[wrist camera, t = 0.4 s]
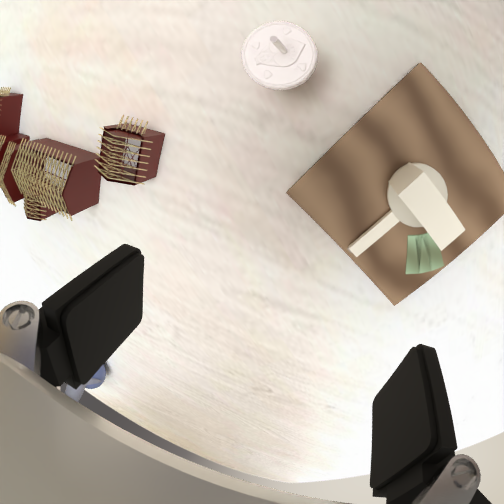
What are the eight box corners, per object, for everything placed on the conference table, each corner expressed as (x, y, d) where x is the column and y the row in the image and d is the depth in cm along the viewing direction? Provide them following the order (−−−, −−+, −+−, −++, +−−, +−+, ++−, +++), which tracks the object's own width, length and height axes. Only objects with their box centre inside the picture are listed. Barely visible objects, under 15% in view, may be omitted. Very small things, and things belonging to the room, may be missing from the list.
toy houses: (0, 174, 50) (-34, 187, 41) (6, 84, 40) (-32, 90, 31) (151, 249, 45) (111, 281, 36) (178, 113, 35) (131, 116, 27)
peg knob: (419, 149, 28) (438, 157, 22) (455, 197, 29) (479, 217, 22) (332, 228, 34) (329, 254, 28) (370, 270, 35) (375, 302, 29)
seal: (112, 348, 59) (57, 411, 42) (113, 379, 65) (67, 435, 48) (83, 329, 60) (26, 385, 42) (86, 361, 66) (39, 413, 48)
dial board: (418, 64, 25) (421, 62, 24) (514, 196, 27) (519, 199, 26) (287, 190, 36) (285, 193, 35) (393, 300, 38) (394, 306, 36)
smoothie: (331, 88, 29) (326, 67, 17) (277, 104, 32) (239, 96, 20) (311, 37, 27) (292, -9, 15) (258, 55, 30) (210, 23, 18)
